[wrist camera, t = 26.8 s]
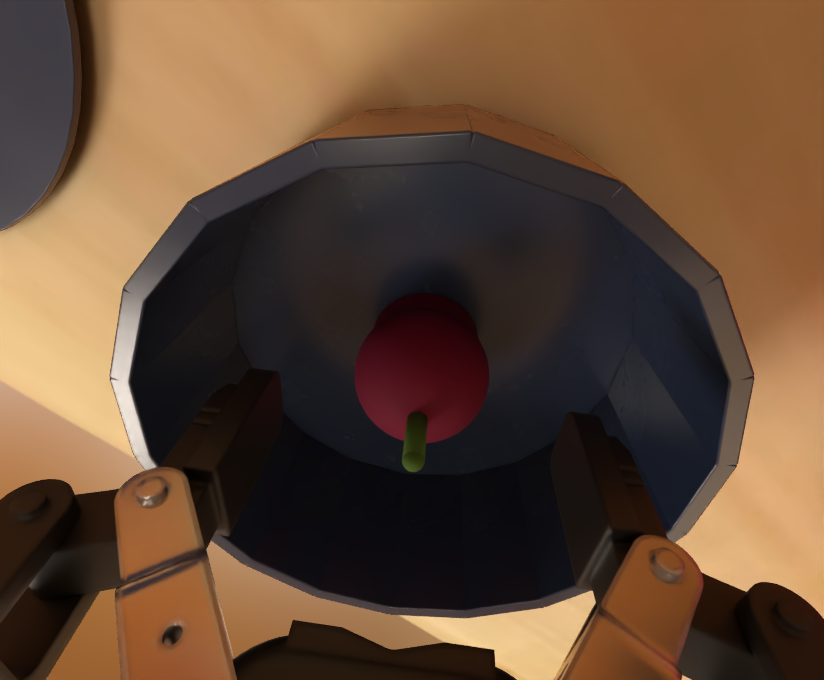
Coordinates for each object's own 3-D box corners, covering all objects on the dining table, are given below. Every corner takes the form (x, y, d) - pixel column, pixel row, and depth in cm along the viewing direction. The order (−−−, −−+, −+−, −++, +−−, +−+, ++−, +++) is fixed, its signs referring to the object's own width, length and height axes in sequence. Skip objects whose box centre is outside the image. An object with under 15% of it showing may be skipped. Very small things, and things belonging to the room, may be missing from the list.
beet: (496, 295, 18) (520, 415, 12) (472, 394, 21) (481, 534, 15) (370, 277, 18) (327, 388, 12) (362, 378, 21) (325, 511, 15)
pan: (730, 140, 15) (937, 195, 9) (566, 496, 25) (606, 645, 18) (197, 66, 15) (11, 67, 9) (244, 451, 25) (172, 584, 18)
